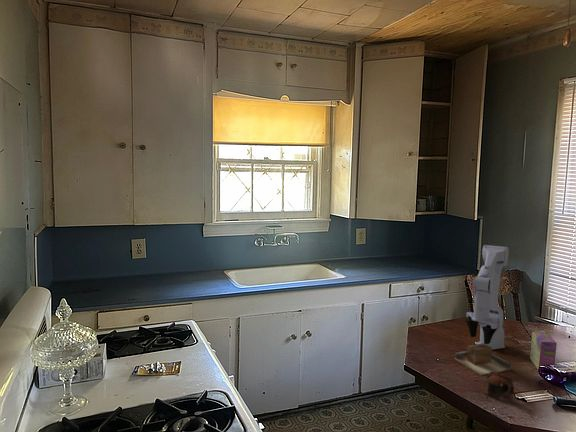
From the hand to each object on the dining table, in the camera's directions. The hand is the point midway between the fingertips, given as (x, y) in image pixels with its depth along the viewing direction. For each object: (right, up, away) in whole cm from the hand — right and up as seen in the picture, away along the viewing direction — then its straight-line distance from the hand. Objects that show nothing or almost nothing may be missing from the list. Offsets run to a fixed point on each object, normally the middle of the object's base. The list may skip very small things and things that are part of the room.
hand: (480, 340), depth 180 cm
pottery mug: (-3, -13, -24) cm, 27 cm away
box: (+24, -10, -1) cm, 26 cm away
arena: (+1, -10, 0) cm, 10 cm away
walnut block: (0, -9, +1) cm, 9 cm away
